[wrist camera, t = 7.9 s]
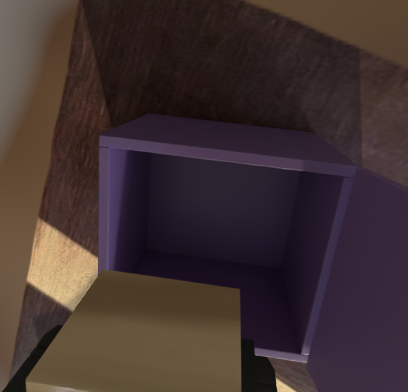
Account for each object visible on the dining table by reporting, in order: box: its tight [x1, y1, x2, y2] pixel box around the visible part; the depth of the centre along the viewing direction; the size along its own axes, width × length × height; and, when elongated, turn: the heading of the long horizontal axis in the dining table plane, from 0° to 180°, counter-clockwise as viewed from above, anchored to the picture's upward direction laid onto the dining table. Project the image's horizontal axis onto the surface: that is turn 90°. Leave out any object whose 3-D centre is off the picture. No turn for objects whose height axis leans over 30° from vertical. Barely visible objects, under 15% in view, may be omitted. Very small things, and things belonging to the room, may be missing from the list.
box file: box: [98, 113, 359, 363], centre depth 33 cm, size 18×17×14 cm
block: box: [26, 269, 241, 392], centre depth 11 cm, size 5×5×5 cm
